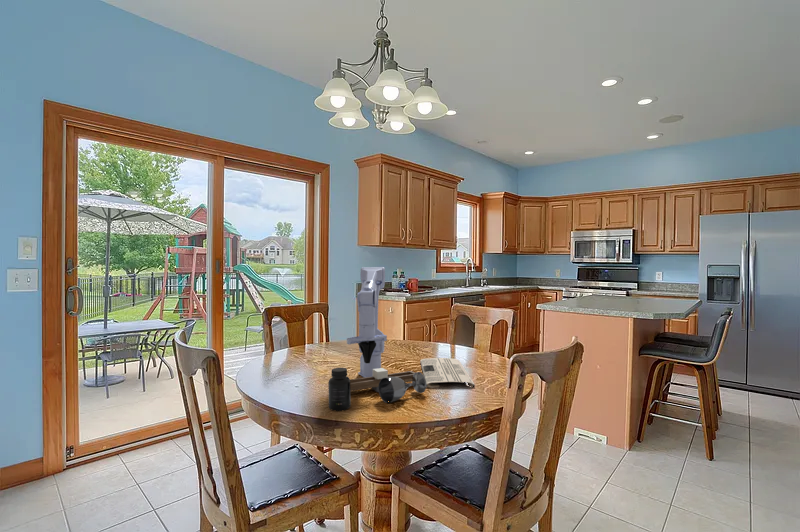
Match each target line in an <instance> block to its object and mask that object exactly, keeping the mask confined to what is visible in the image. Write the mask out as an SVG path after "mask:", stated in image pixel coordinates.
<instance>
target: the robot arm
mask: <svg viewBox="0 0 800 532" xmlns="http://www.w3.org/2000/svg"><path fill="white" fill-rule="evenodd" d="M360 280H361V286H360V287H361V288H360V291H359V292H357V295H356V302H357V303H356V305H357V311H358V336H352V337H346V344H347V345H354V344H355V345H356V344H357V345H358V350H359V352H360V353H361V355H360V358H359V363H360V364H359V367H360V368H359V370H360V371H359V372H357V374H358V375H360V376H361V378H365V377H372V376H373V369H378V368H382V353H384V352H385V342H387V341H388V335H387V334H384V332H383V331H381V330H380V329H379V297H380V295H379V294H380V292H381V290H383V289H384V288H385V284H386V268H385V267H384V266H366V267H365V266H361V268H360Z"/></svg>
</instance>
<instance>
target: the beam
mask: <svg viewBox="0 0 800 532" xmlns="http://www.w3.org/2000/svg"><path fill="white" fill-rule="evenodd" d="M415 373H416V372H415V371H412V370H409V371H401V372H394V373H388V377H399V378H401V379H402V380H403V381H404V382H405V383H412V378H413V375H414V374H415ZM349 379H350V378H349ZM380 380H381V379H375V378H374V377H373V376H372V377H365V378H364V377H359V378H351V379H350V389H351V392H352V391H358V390H359V391H360V390H365V389H372V390H373V391H374V392H375V393H379V390H378V386H379V382H380Z"/></svg>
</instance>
